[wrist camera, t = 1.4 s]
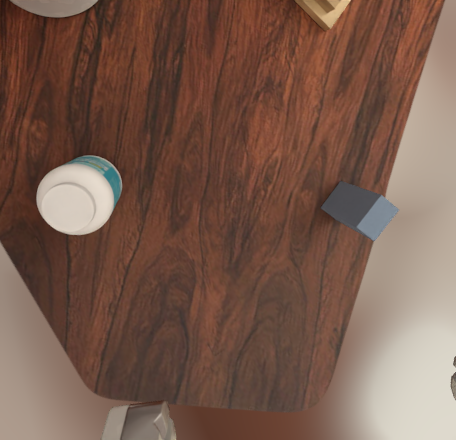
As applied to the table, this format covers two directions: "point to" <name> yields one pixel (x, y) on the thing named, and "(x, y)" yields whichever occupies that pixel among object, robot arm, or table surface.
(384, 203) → the loose pad
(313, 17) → the pad board
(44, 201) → the pill bottle
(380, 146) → the table surface
